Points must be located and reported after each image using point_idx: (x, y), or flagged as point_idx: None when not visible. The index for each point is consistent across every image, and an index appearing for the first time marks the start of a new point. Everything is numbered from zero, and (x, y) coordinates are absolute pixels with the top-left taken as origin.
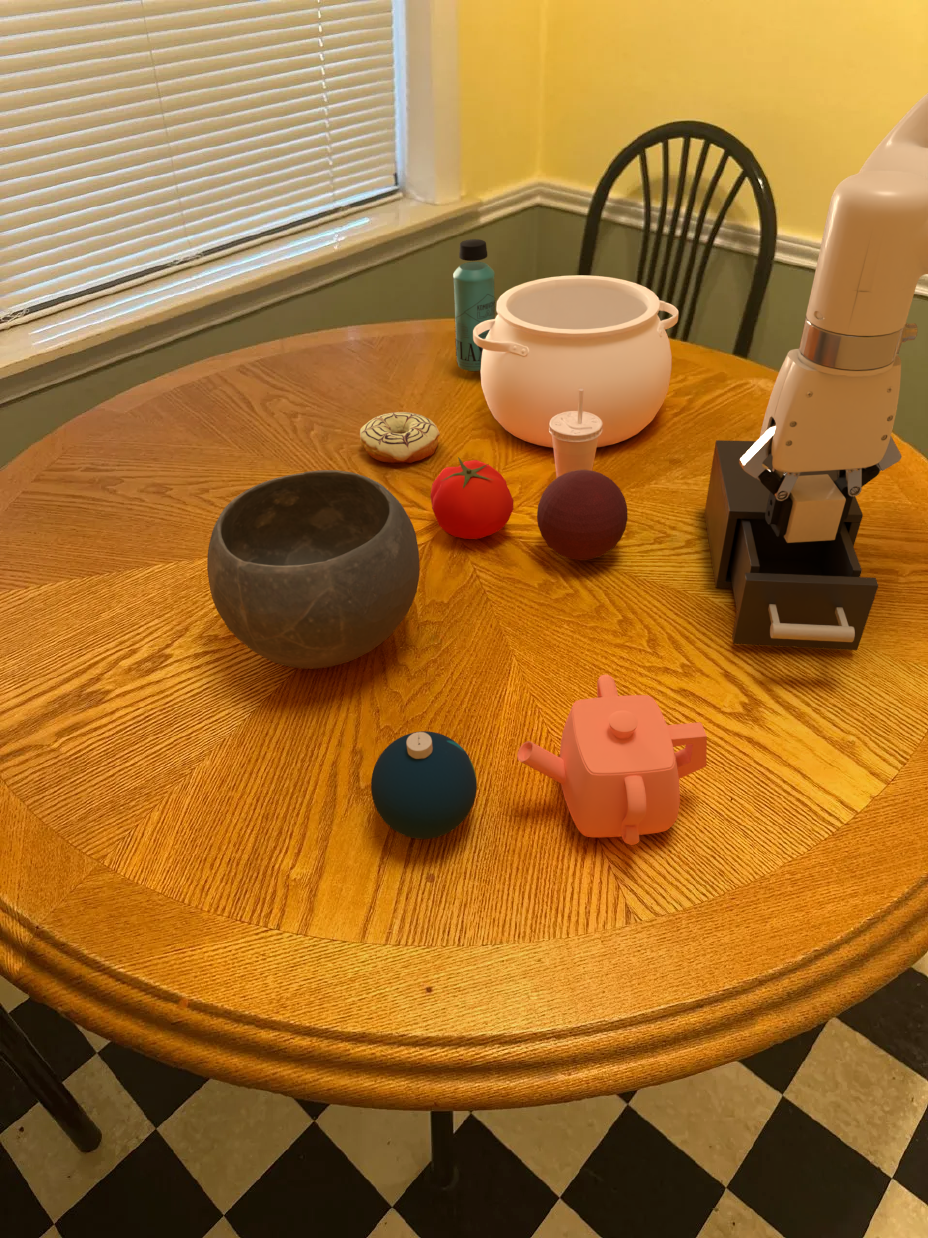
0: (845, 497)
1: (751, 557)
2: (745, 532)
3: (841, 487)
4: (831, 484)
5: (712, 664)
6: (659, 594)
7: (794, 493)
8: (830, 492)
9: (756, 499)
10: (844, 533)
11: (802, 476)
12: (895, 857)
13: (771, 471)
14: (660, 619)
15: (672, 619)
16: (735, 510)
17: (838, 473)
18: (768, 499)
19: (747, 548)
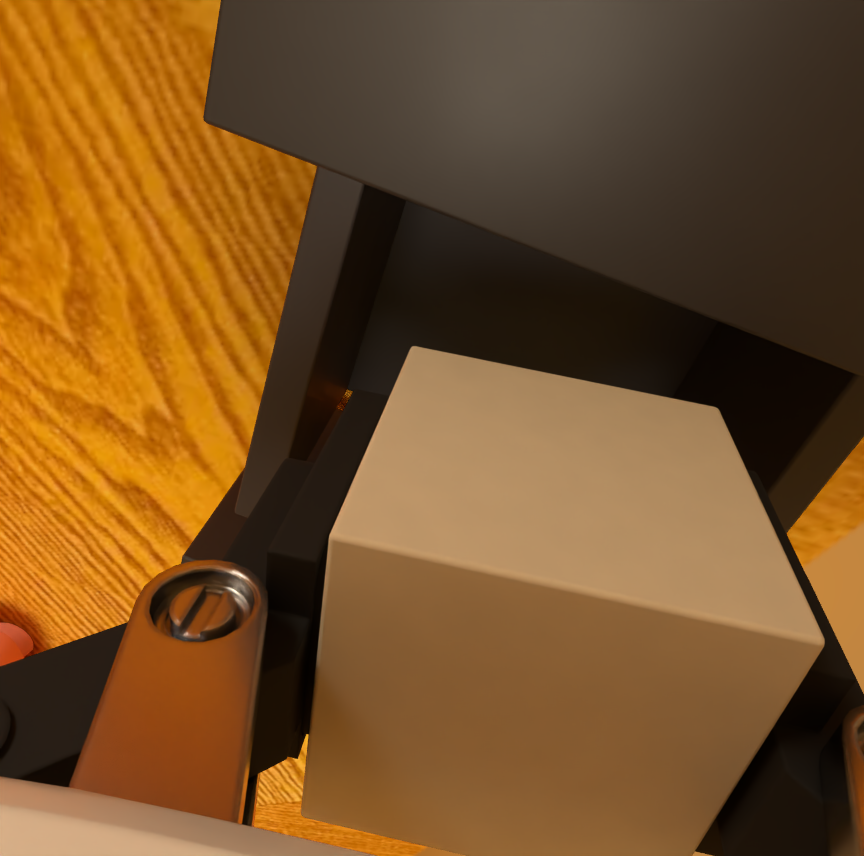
0: (711, 841)
1: (253, 466)
2: (297, 271)
3: (734, 846)
4: (709, 767)
5: (230, 436)
6: (137, 56)
7: (330, 750)
8: (615, 825)
9: (456, 13)
10: (828, 448)
11: (542, 599)
12: (381, 847)
13: (50, 781)
14: (119, 207)
15: (159, 219)
16: (243, 129)
17: (826, 831)
18: (240, 533)
19: (263, 394)
